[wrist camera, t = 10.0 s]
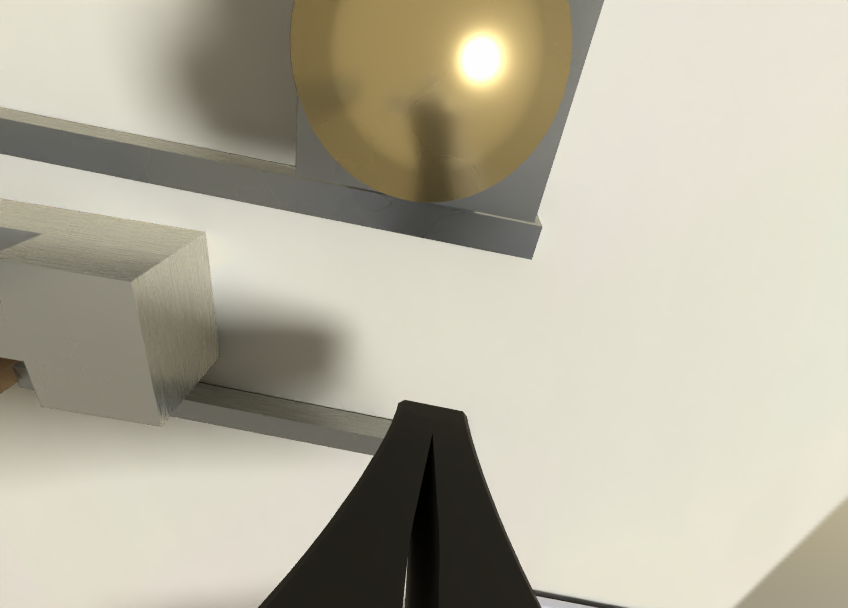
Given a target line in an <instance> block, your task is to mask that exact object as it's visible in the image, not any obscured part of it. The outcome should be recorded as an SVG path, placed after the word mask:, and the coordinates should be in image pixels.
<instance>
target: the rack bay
mask: <svg viewBox="0 0 848 608" xmlns="http://www.w3.org/2000/svg"><path fill="white" fill-rule="evenodd" d="M18 362H19V360H13V359H7V358H1V357H0V394H1V393H2V392H3V391H5V390H6V389H8V388H9V387H10V386H12V385H13V384H14V383H16V382H17V381H18V380H17V378H16V375H15V372H14V369H13V366H14V365H15V364H16V363H18Z"/></svg>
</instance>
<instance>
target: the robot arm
mask: <svg viewBox="0 0 848 608" xmlns="http://www.w3.org/2000/svg"><path fill="white" fill-rule="evenodd" d="M407 558H408V560H407ZM406 568H407V579H406V598H405V608H596V607H591V606H586V605H581V604H576V603H570V602H565V601H560V600H555V599H550V598H544V597H539V596H535V594H534V592H533V589H532V587H531V585H530V583H529V581H528V579H527V577H526V575H525V573H524V571H523V569H522V567H521V565H520V563H519V560H518V558H517V556H516V554H515V551H514V549H513V547H512V545H511V542H510V540H509V538H508V536H507V533H506V531H505V529H504V526H503V524H502V522H501V519H500V517H499V514H498V512H497V509H496V507H495V504H494V501H493V499H492V496H491V494H490V491H489V488H488V486H487V483H486V480H485V477H484V475H483V472H482V469H481V466H480V463H479V460H478V457H477V454H476V450H475V447H474V444H473V440H472V437H471V433H470V429H469V425H468V420H467V416H466V415H465V414H464V412H463V411H458V410H453V409H448V408H443V407H438V406H433V405H428V404H423V403H418V402H413V401H408V400H404V401H402V402H400V403H398V406H397V410H396V413H395V415H394V418H393V420H392V423H391V425H390V427H389V429H388V431H387V433H386V435H385V437H384V439H383V441H382V442H381V444H380V446H379V448H378V450H377V451H376V453H375V455H374V456H373V458H372V460H371V461H370V463H369V465H368V466H367V468H366V469H365V471H364V473H363V474H362V476H361V478H360V479H359V481H358V482H357V484H356V485H355V487H354V488H353V489H352V491H351V492H350V494H349V495H348V496H347V498H346V499H345V501H344V502H343V504H342V505H341V506H340V508H339V509H338V511H337V512H336V513H335V515H334V516H333V518H332V519H331V520H330V522H329V523H328V524H327V526H326V527H325V528H324V530H323V531H322V532H321V534H320V535H319V536H318V537H317V539H316V540H315V541H314V543H313V544H312V545H311V546H310V548H309V549H308V550H307V551H306V552H305V554H304V555H303V556H302V557H301V559H300V560H299V561H298V562H297V563H296V565H295V566H294V567H293V568H292V570H291V571H290V572H289V573H288V574H287V575H286V577H285V578H284V579H283V580H282V581H281V582H280V583H279V585H278V586H277V587H276V588H275V589H274V590H273V591H272V592H271V594H270V595H269V596H268V597H267V598H266V599H265V600H264V602H263V603H262V604H261V605H260V606H259V607H258V608H402V607H403V597H404V587H405V578H406Z"/></svg>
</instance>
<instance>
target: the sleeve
mask: <svg viewBox="0 0 848 608" xmlns="http://www.w3.org/2000/svg"><path fill="white" fill-rule="evenodd" d="M0 153H1V154H6V155H11V156H16V157H21V158H26V159H31V160H36V161H41V162H46V163H51V164H56V165H61V166H66V167H71V168H76V169H81V170H86V171H91V172H96V173H101V174H106V175H111V176H116V177H121V178H126V179H131V180H136V181H141V182H146V183H151V184H156V185H161V186H166V187H171V188H176V189H181V190H186V191H191V192H196V193H201V194H206V195H211V196H216V197H221V198H226V199H231V200H236V201H241V202H246V203H251V204H256V205H261V206H266V207H271V208H276V209H281V210H286V211H291V212H296V213H301V214H306V215H311V216H316V217H321V218H326V219H331V220H336V221H341V222H346V223H351V224H356V225H361V226H366V227H371V228H376V229H381V230H386V231H391V232H396V233H401V234H406V235H411V236H416V237H421V238H426V239H431V240H436V241H441V242H446V243H451V244H456V245H461V246H466V247H471V248H476V249H481V250H486V251H491V252H496V253H501V254H506V255H511V256H516V257H521V258H526V259H531V260H532V257H533V254H534V251H535V248H536V245H537V242H538V238H539V235H540V232H541V229H542V225H541V222H540V220H539V218H538V216H537V215H536V218H535V222H534V223H531V222H526V221H521V220H516V219H511V218H506V217H501V216H496V215H491V214H486V213H481V212H476V211H471V210H466V209H461V208H456V207H451V206H446V205H441V204H436V203H431V202H415V201H407V200H403V199H399V198H395V197H392V196H389V195H386V194H384V193H382V192H377V191H372V190H367V189H362V188H357V187H352V186H347V185H342V184H337V183H332V182H327V181H322V180H317V179H312V178H307V177H302V176H297V175H295V168H296V167H294V166H289V165H284V164H280V163H275V162H270V161H265V160H260V159H255V158H250V157H245V156H240V155H235V154H230V153H225V152H220V151H215V150H210V149H205V148H200V147H195V146H190V145H185V144H180V143H175V142H170V141H165V140H160V139H155V138H150V137H145V136H140V135H135V134H130V133H125V132H120V131H115V130H110V129H105V128H100V127H95V126H90V125H85V124H80V123H75V122H70V121H66V120H61V119H56V118H51V117H46V116H41V115H36V114H31V113H26V112H21V111H16V110H11V109H6V108H1V107H0ZM13 369H14V372H15V375H16V378H17V380H18V383H19V386H20V387H24V388H29V389H34V387H33V384H32V381H31V379H30V376H29V373H28V371H27V368H26V366H25V363H24V361H19V362H18V363H16V364H15V365H14V366H13ZM34 390H35V389H34ZM171 416H173V417H178V418H183V419H188V420H193V421H199V422H204V423H209V424H214V425H219V426H224V427H229V428H235V429H240V430H245V431H250V432H255V433H260V434H265V435H271V436H276V437H281V438H286V439H291V440H296V441H301V442H307V443H312V444H317V445H322V446H327V447H332V448H337V449H343V450H348V451H353V452H358V453H363V454H368V455H375V453H376V451H377V450H378V448H379V446H380V444H381V442H382V441H383V439H384V437H385V435H386V433H387V431H388V429H389V427H390V425H391V423H392V420H388V419H382V418H377V417H372V416H367V415H362V414H357V413H352V412H347V411H341V410H336V409H331V408H326V407H321V406H316V405H311V404H306V403H300V402H295V401H290V400H285V399H280V398H275V397H270V396H265V395H260V394H254V393H249V392H244V391H239V390H234V389H229V388H224V387H219V386H213V385H208V384H203V383H197V384H196V385H195V387H194V388H193V389H192V390H191V392H190V393H189V394H188V395H187V396H186V398H185V399H184V400H183V401H182V402H181V404H180V405H179V406H178V407H177V408H176V410H175V411H174V412H173V413H172V414H171Z"/></svg>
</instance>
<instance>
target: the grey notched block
mask: <svg viewBox="0 0 848 608" xmlns="http://www.w3.org/2000/svg"><path fill="white" fill-rule="evenodd" d="M0 357H1V358H7V359H13V360H19V361H24V363H25V366H26V368H27V371H28V373H29V376H30V379H31V381H32V384H33V387H34V389H35V392H36V394H37V397H38V400H39V402H40V405H41V407H47V408H53V409H59V410H65V411H71V412H77V413H83V414H89V415H95V416H101V417H107V418H113V419H119V420H125V421H131V422H137V423H143V424H148V425H154V426H160V427H161V426H162V425H163V424H164V423H165V422H166V420H167V419H168V418H169V417H170V416H171V414H172V413H173V412H174V411H175V410H176V408H177V407H178V406H179V405H180V404H181V402H182V401H183V400H184V399H185V398H186V396H187V395H188V394H189V393H190V392H191V390H192V389H193V388H194V387H195V385H196V384H197V383H198V382H199V381H200V379H201V378H202V377H203V376H204V375H205V373H206V372H207V371H208V370H209V369H210V367H211V366H212V365H213V364H214V363H215V361H216V360H217V359H218V358H219V357H220V356H219V347H218V338H217V329H216V320H215V311H214V302H213V293H212V284H211V275H210V266H209V257H208V248H207V239H206V232H202V231H195V230H189V229H183V228H177V227H171V226H165V225H159V224H153V223H147V222H141V221H135V220H129V219H122V218H116V217H110V216H104V215H98V214H92V213H86V212H80V211H74V210H68V209H62V208H56V207H49V206H43V205H37V204H31V203H25V202H19V201H13V200H7V199H1V198H0Z"/></svg>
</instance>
